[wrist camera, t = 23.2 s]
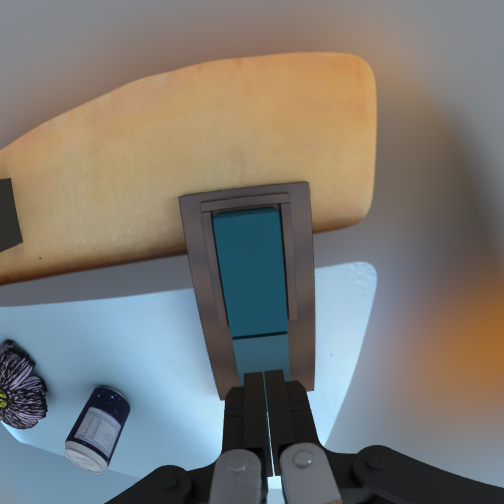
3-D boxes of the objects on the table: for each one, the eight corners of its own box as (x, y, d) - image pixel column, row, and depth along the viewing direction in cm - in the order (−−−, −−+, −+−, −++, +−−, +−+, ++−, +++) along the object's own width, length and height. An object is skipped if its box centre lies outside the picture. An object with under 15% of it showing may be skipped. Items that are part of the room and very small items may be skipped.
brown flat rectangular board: (181, 195, 24) (168, 200, 19) (306, 181, 24) (318, 183, 19) (220, 394, 30) (218, 420, 26) (312, 384, 30) (319, 409, 26)
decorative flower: (46, 438, 21) (-5, 446, 18) (75, 407, 33) (25, 421, 30) (-6, 339, 22) (-48, 363, 18) (35, 328, 33) (-11, 351, 30)
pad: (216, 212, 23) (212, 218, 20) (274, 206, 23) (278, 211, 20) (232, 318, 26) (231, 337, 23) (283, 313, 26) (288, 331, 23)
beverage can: (89, 381, 30) (52, 442, 18) (122, 384, 30) (89, 453, 18) (105, 409, 31) (77, 469, 20) (137, 412, 31) (114, 479, 20)
